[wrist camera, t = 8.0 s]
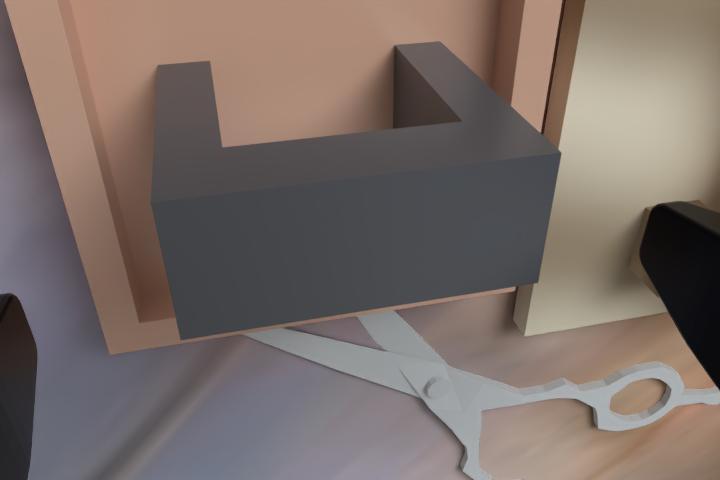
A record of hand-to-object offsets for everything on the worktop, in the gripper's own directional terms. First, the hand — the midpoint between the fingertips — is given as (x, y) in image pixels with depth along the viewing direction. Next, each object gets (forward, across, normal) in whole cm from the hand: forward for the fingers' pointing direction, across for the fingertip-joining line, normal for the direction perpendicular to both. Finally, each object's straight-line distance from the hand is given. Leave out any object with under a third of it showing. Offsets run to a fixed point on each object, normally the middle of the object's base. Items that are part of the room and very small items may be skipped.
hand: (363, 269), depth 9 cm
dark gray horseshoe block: (+6, 0, 0) cm, 6 cm away
